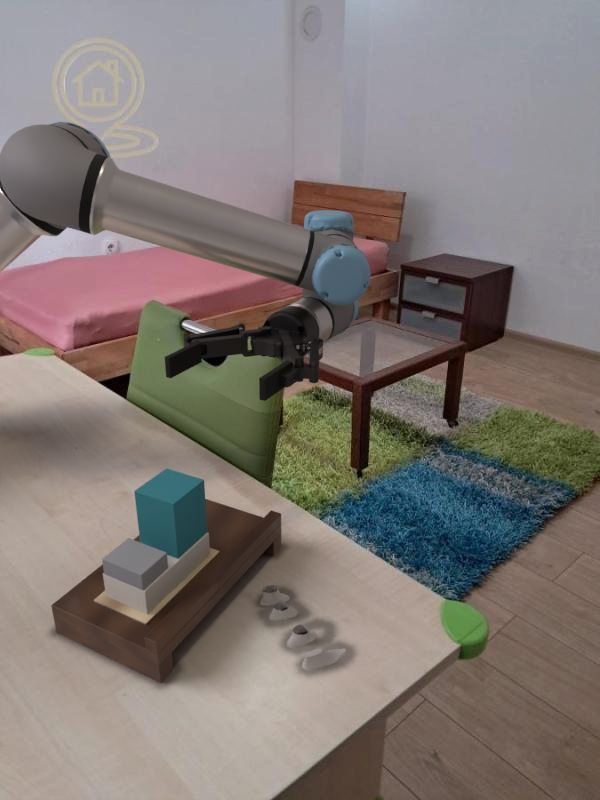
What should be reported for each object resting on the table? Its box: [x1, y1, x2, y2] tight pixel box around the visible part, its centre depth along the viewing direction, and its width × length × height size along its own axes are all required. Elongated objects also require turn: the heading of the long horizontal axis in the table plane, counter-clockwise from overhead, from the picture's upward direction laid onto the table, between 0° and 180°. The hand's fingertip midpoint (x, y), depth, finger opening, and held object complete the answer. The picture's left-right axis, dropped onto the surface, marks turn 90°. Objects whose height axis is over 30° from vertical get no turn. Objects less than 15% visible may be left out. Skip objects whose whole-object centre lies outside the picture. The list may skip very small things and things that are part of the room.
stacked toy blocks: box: [101, 468, 210, 614], centre depth 68 cm, size 11×6×10 cm, turn 152°
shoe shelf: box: [50, 498, 282, 684], centre depth 73 cm, size 14×24×6 cm, turn 152°
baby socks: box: [259, 584, 347, 672], centre depth 68 cm, size 12×5×3 cm, turn 29°
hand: (212, 378), depth 75 cm, fingers open, 13 cm apart
